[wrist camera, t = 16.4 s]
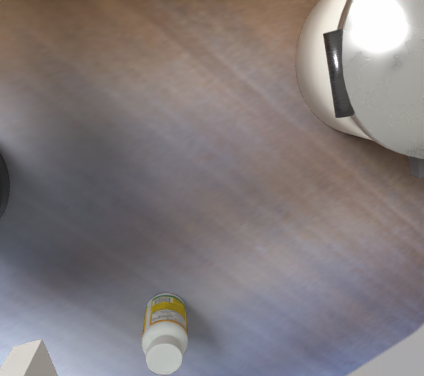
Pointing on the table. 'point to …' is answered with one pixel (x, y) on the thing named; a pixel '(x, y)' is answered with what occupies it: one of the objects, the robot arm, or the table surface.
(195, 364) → the table surface
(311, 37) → the cooker pot
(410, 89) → the cooker lid
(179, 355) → the supplement bottle
